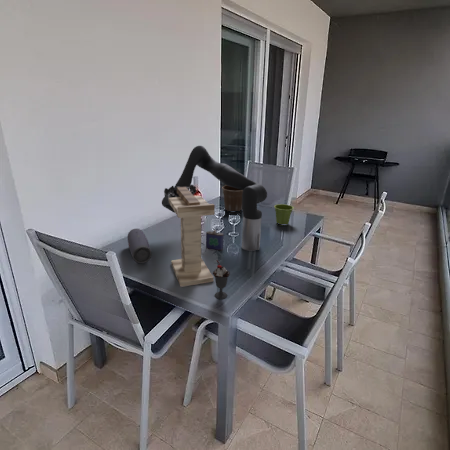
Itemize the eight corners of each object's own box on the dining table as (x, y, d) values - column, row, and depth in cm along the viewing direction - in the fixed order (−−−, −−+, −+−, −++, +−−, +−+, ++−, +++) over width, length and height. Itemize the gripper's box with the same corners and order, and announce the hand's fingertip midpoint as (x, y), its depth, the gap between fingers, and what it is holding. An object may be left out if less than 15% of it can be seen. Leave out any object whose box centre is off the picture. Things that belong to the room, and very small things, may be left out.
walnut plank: (176, 192, 142) (176, 187, 141) (185, 192, 143) (185, 186, 142) (189, 209, 121) (189, 203, 120) (199, 208, 122) (199, 202, 121)
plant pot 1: (242, 214, 212) (243, 191, 206) (219, 212, 215) (219, 189, 209) (246, 207, 226) (247, 185, 221) (224, 205, 230) (225, 183, 224)
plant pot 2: (294, 223, 200) (296, 206, 196) (287, 228, 191) (289, 211, 186) (277, 219, 206) (278, 202, 202) (269, 224, 196) (271, 207, 192)
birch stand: (171, 264, 146) (168, 193, 133) (200, 260, 150) (200, 191, 138) (180, 287, 128) (178, 207, 116) (213, 281, 133) (214, 204, 120)
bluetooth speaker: (127, 246, 162) (125, 228, 158) (145, 244, 165) (144, 226, 162) (132, 267, 142) (130, 247, 139) (153, 264, 146) (151, 244, 142)
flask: (223, 249, 162) (224, 230, 158) (222, 251, 160) (222, 232, 156) (206, 246, 164) (206, 227, 161) (204, 249, 162) (204, 229, 158)
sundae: (211, 290, 126) (212, 257, 121) (228, 290, 127) (229, 257, 122) (212, 300, 120) (213, 266, 115) (230, 300, 121) (231, 265, 115)
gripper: (161, 189, 152) (165, 179, 136) (190, 187, 156) (197, 178, 141) (163, 204, 151) (167, 196, 135) (192, 202, 155) (199, 194, 140)
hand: (182, 187), depth 138 cm, fingers open, 8 cm apart
